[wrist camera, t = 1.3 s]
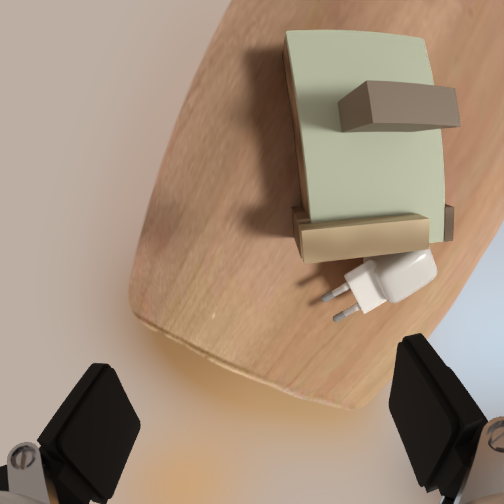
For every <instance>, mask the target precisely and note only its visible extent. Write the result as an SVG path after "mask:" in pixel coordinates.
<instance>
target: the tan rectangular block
mask: <svg viewBox="0 0 504 504" xmlns="http://www.w3.org/2000/svg"><path fill="white" fill-rule="evenodd" d="M429 224H430V219H429V218H427V217H425V216H422V215H420V214H408V215H396V216H384V217H373V218H361V219H351V220H340V221H329V222H319V223H309V224H299V235H300V247H301V256H302V259H303V262H304V264H307V263H317V262H326V261H335V260H343V259H352V258H361V257H369V256H378V255H386V254H394V253H402V252H411V251H419V250H426V249H429Z"/></svg>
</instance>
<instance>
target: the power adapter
mask: <svg viewBox="0 0 504 504" xmlns="http://www.w3.org/2000/svg"><path fill="white" fill-rule="evenodd" d="M437 273H438V272H437V268H436V264H435V261H434V259H433V256H432V253H431V250H430V248H429V249H426V250H419V251H411V252H402V253H394V254H386V255H378V256H369V257H363V264H361V265H360V266H358V267H356V268H355V269H353V270H351V271H350V272H348V273H346V274H344V277H345V279H346V281H347V282H345V283H344V284H342V285H341V286H339V287H338V288H336V289H334V290H332V291H330V292H328V293H326V294H325V295H323V296H322V297H321V300H322V301H323V302H327V301H329V300H331V299H333V298H334V297H335V296H337V295H339V294H341V293H342V292H344V291H347V290H348V289H351V291H352V293H353V294H354V296H355V298H356V300H357V303H356V304H354V305H352V306H351V307H349V308H348V309H346V310H344V311H342V312H340V313H338V314H336V315H334V316H333V321H334V322H338V321H340V320H342V319H344V318H345V317H346V316H348V315H350V314H352V313H354V312H356V311H358V310H360V309H361V310H362V312H363V313H364V314H365V313H367V312H369V311H370V310H372V309H374V308H376V307H377V306H379V305H381V304H382V303H384V302H386V301H388V302H390V303H397V302H399V301H401V300H403V299H405V298H406V297H408V296H409V295H411V294H413V293H414V292H416V291H417V290H419V289H420V288H422V287H423V286H425V285H426V284H428V283H429V282H430V281H432V280H433V279H434V278H435V276H436V275H437Z"/></svg>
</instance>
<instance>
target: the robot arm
mask: <svg viewBox="0 0 504 504" xmlns="http://www.w3.org/2000/svg"><path fill="white" fill-rule="evenodd" d="M389 410H390V412H391V415H392V417H393V419H394V422H395V425H396V427H397V429H398V432H399V434H400V437H401V439H402V442H403V444H404V447H405V449H406V452H407V454H408V457H409V460H410V462H411V465H412V467H413V470H414V473H415V475H416V478H417V481H418V483H419V485H420V486H421V487H423V486H425V488H426V491H427V493H428V492H431V491H434V490H436V489H439V491H440V494H441V496H442V498H441V500H440V503H439V504H504V417H497V418H494V419H492V420H490V421H489V422H488V420H487V419H486V417H485V416H484V414H483V413H482V411H481V410H480V408H479V407H478V405H477V404H476V402H475V401H474V400H473V398H472V397H471V395H470V394H469V393H468V391H467V390H466V389H465V387H464V386H463V384H462V383H461V381H460V380H459V379H458V377H457V376H456V375H455V373H454V372H453V371H452V369H450V367H448V366H446V365H445V363H444V362H443V360H442V359H441V358H440V356H439V355H438V354H437V353H436V351H435V350H434V349H433V347H432V346H431V345H430V344H429V342H428V341H427V340H426V338H425V337H424V336H423V335H422V334H421V333H418V334H414V335H410V336H405V337H404V338H403V340H402V342H399V343H398V346H397V354H396V361H395V368H394V375H393V381H392V387H391V392H390V398H389ZM140 426H141V425H140V420H139V418H138V416H137V415H136V413H135V411H134V409H133V407H132V405H131V403H130V401H129V399H128V397H127V395H126V393H125V391H124V389H123V387H122V385H121V383H120V380H119V378H118V376H117V374H116V372H115V370H114V369H113V368H111V367H110V365H109V364H102V363H93V364H92V365H91V366H90V367H89V368H88V370H87V371H86V372H85V374H84V375H83V376H82V378H81V379H80V380H79V382H78V383H77V384H76V386H75V387H74V388H73V390H72V391H71V392H70V394H69V395H68V397H67V398H66V399H65V401H64V402H63V403H62V405H61V406H60V408H59V409H58V410H57V412H56V413H55V415H54V416H53V417H52V419H51V420H50V422H49V423H48V425H47V426H46V427H45V429H44V430H43V432H42V433H41V435H40V436H39V438H38V439H37V441H38V442H39V444H40V445H41V447H40V448H38V447H37V446H36V445H35V444H33V443H30V442H24V443H20V444H18V445H16V446H15V447H14V448H13V449H12V450H11V451H10V453H9V455H8V458H7V465H4V466H1V467H0V504H89V502H90V500H92V501H93V502H96V503H100V504H106V503H107V501H108V499H110V498H112V496H113V494H114V491H115V489H116V486H117V484H118V481H119V479H120V476H121V474H122V471H123V469H124V466H125V464H126V462H127V459H128V457H129V454H130V452H131V450H132V447H133V445H134V442H135V440H136V438H137V435H138V433H139V430H140Z"/></svg>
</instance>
